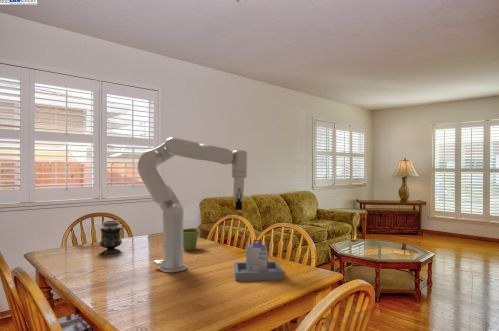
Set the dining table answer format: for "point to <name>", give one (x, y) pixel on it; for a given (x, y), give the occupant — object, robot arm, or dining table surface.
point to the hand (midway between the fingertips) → (238, 208)
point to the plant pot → (190, 238)
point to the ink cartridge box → (256, 257)
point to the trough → (258, 272)
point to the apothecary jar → (110, 236)
